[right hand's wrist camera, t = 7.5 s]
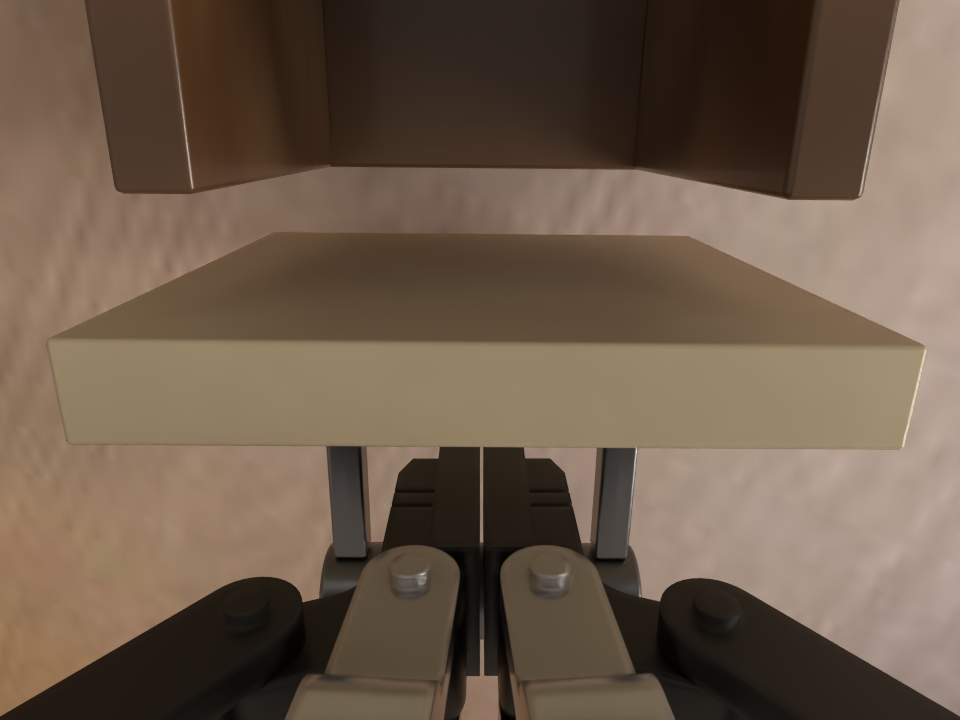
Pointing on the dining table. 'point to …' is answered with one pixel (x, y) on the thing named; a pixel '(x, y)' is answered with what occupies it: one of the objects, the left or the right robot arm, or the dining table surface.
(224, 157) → the drawer
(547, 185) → the dining table surface
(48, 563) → the dining table surface
